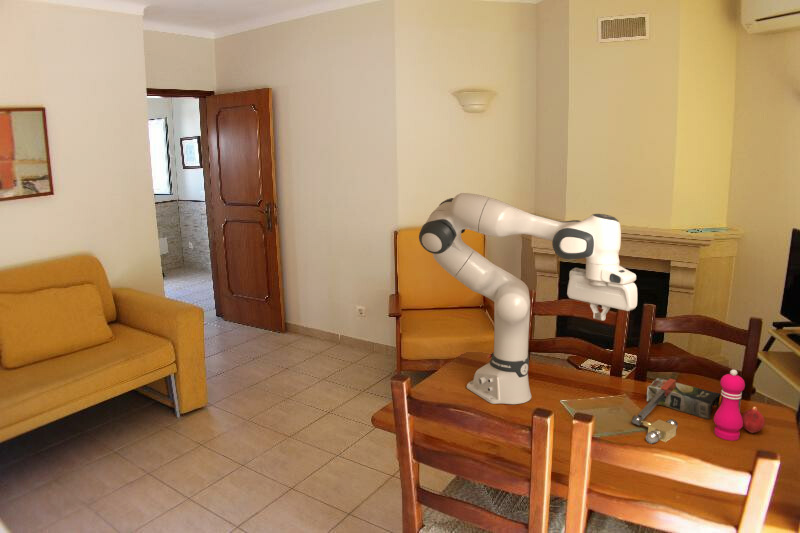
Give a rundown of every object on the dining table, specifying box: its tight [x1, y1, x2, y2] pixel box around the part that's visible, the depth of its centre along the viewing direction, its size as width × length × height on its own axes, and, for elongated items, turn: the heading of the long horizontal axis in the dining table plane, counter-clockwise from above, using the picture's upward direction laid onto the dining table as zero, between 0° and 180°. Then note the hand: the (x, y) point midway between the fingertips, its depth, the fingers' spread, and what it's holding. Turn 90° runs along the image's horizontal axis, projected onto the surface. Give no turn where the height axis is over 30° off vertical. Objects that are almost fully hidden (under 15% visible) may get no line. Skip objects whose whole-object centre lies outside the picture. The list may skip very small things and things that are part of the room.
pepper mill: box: [713, 369, 746, 442], centre depth 161 cm, size 7×7×20 cm
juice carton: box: [646, 377, 722, 420], centre depth 181 cm, size 20×10×6 cm, turn 46°
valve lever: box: [631, 378, 677, 427], centre depth 175 cm, size 2×2×23 cm
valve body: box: [640, 418, 679, 444], centre depth 165 cm, size 9×14×3 cm, turn 129°
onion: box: [741, 406, 766, 434], centre depth 164 cm, size 6×6×8 cm
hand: (599, 319), depth 163 cm, fingers closed
